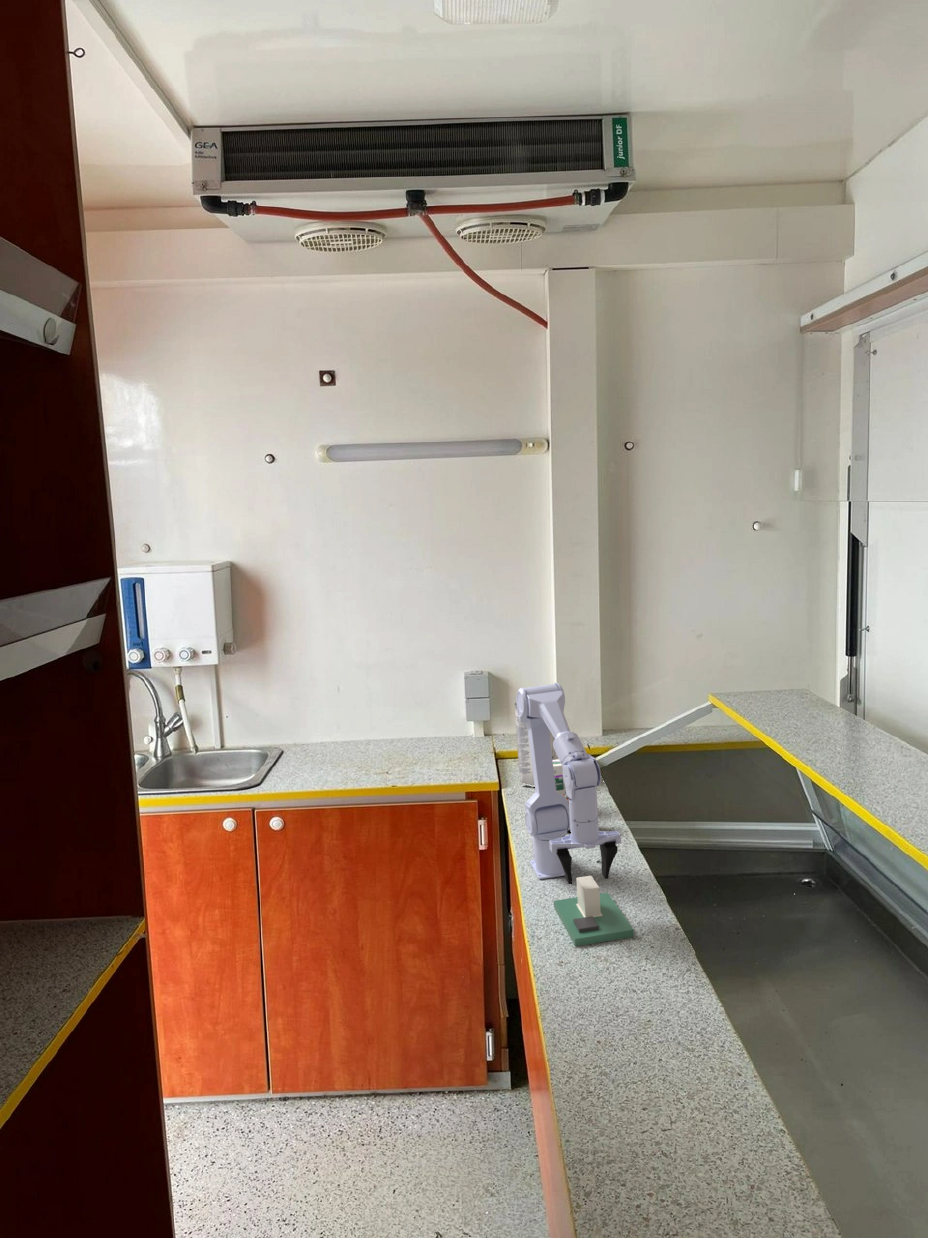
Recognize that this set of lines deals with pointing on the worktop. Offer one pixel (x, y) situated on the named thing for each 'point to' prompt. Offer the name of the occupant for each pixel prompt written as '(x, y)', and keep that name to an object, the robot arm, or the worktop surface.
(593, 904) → the block
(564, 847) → the robot arm
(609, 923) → the circuit board
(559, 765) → the syrup box
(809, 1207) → the worktop surface
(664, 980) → the worktop surface
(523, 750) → the juice carton
